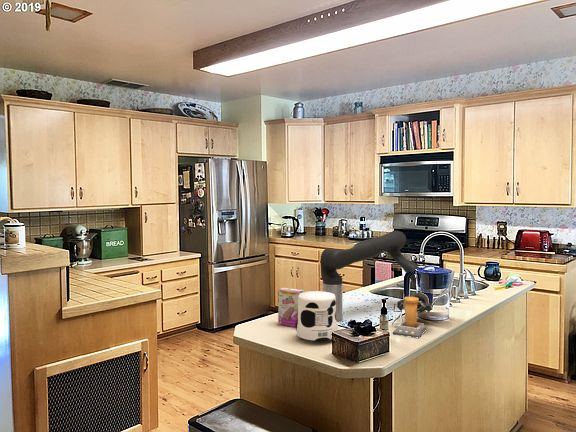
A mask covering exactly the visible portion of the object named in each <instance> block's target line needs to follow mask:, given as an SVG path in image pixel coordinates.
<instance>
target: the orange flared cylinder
mask: <svg viewBox="0 0 576 432" xmlns="http://www.w3.org/2000/svg"><path fill="white" fill-rule="evenodd" d="M403 300H404V302H405V305H404V307H405V309H404V321H405V326H407V327H414V328H417V322H418V311H417V303H418V302H419V298H417V297H412V296H404V297H403Z"/></svg>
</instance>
